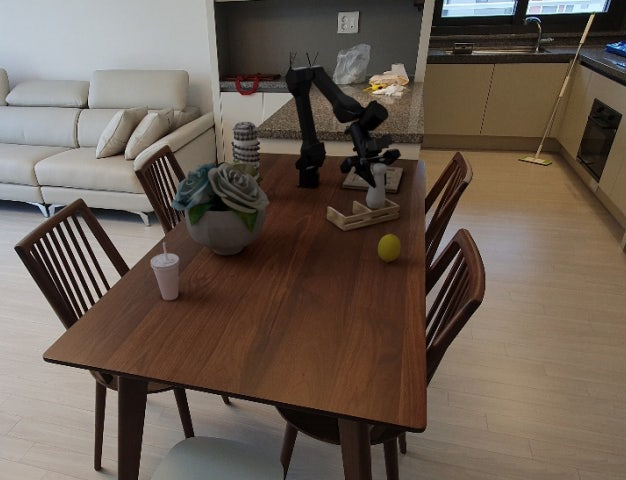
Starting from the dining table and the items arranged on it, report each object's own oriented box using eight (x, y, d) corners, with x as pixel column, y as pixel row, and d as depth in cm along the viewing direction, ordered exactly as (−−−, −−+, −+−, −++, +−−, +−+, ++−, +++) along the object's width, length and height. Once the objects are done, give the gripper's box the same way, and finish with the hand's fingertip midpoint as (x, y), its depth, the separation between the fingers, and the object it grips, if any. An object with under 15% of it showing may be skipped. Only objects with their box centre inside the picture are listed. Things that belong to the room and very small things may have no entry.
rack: (326, 218, 142) (327, 206, 139) (378, 207, 148) (380, 195, 146) (344, 231, 134) (345, 218, 132) (398, 218, 141) (400, 205, 138)
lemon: (399, 258, 120) (403, 230, 115) (397, 268, 115) (401, 240, 111) (377, 255, 121) (381, 228, 117) (374, 265, 117) (378, 237, 112)
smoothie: (171, 306, 104) (163, 251, 96) (150, 298, 107) (140, 245, 99) (189, 292, 108) (182, 239, 101) (169, 285, 111) (161, 233, 104)
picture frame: (354, 167, 182) (342, 188, 163) (354, 163, 181) (342, 183, 162) (402, 171, 176) (396, 193, 158) (403, 167, 175) (396, 188, 157)
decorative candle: (256, 205, 152) (254, 127, 139) (230, 202, 155) (225, 126, 141) (265, 195, 159) (263, 120, 146) (240, 192, 162) (236, 119, 148)
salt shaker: (383, 202, 144) (388, 161, 137) (385, 209, 139) (391, 167, 132) (364, 202, 144) (369, 161, 137) (365, 209, 139) (371, 167, 132)
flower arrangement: (254, 278, 113) (250, 182, 100) (165, 262, 121) (151, 172, 108) (284, 235, 133) (285, 151, 119) (206, 224, 140) (199, 144, 127)
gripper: (348, 128, 129) (367, 179, 126) (402, 120, 135) (421, 168, 132) (331, 149, 139) (349, 196, 137) (382, 141, 145) (399, 185, 143)
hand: (380, 186), depth 137 cm, fingers closed on salt shaker, 3 cm apart
